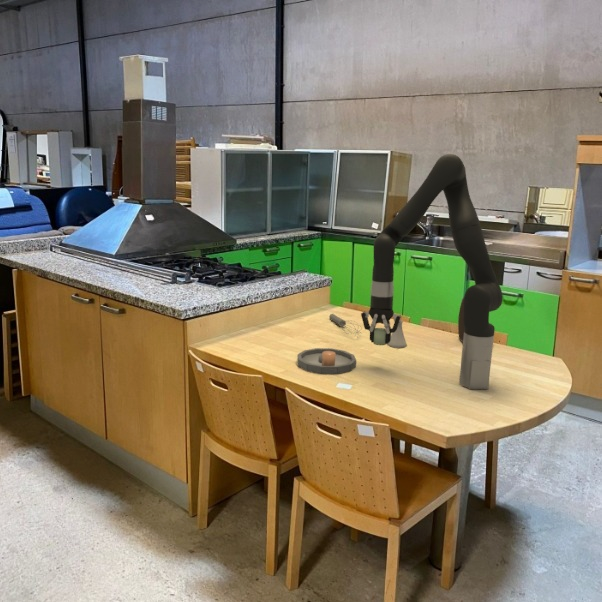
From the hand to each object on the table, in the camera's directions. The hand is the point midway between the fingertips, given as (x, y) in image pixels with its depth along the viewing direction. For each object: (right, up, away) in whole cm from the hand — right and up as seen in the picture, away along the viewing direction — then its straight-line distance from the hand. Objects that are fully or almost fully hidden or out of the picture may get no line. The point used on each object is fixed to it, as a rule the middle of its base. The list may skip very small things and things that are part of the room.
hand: (379, 342), depth 208 cm
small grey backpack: (+41, -3, +34) cm, 53 cm away
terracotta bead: (-18, -8, -2) cm, 20 cm away
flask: (+10, -3, +27) cm, 29 cm away
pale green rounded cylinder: (0, 0, 0) cm, 0 cm away
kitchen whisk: (-10, +2, +48) cm, 49 cm away
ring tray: (-18, -8, +4) cm, 20 cm away
